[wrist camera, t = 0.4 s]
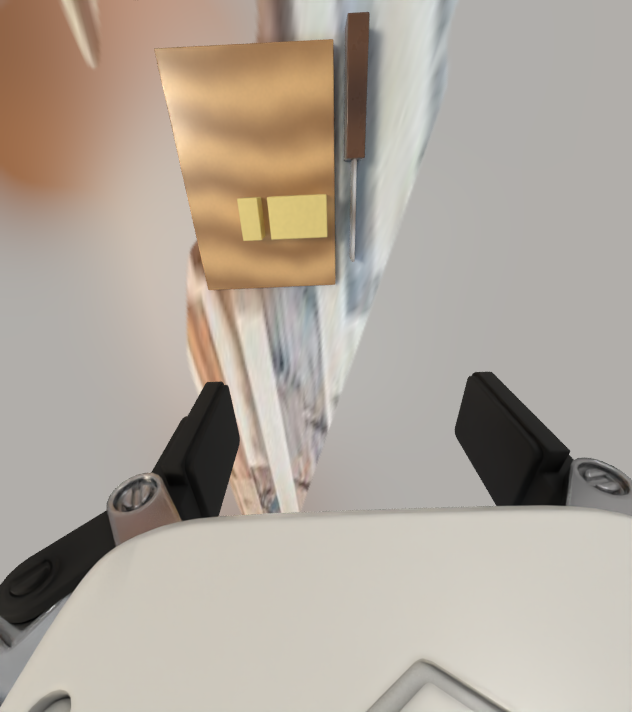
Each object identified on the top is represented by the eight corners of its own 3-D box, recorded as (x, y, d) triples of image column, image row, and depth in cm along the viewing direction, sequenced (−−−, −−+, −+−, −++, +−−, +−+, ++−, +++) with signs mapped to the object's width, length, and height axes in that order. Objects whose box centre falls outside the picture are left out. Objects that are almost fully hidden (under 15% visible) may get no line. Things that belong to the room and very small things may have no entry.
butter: (270, 196, 32) (266, 197, 29) (325, 194, 32) (326, 194, 29) (274, 235, 34) (271, 239, 31) (326, 233, 34) (327, 237, 31)
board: (158, 52, 27) (153, 48, 26) (332, 43, 27) (333, 38, 26) (210, 287, 38) (208, 290, 37) (334, 282, 38) (335, 284, 37)
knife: (344, 27, 26) (347, 12, 24) (364, 26, 26) (369, 11, 24) (343, 257, 36) (345, 262, 34) (358, 257, 36) (361, 261, 34)
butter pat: (242, 197, 32) (236, 198, 29) (261, 197, 32) (256, 197, 29) (248, 237, 34) (243, 241, 31) (265, 236, 34) (261, 240, 31)
